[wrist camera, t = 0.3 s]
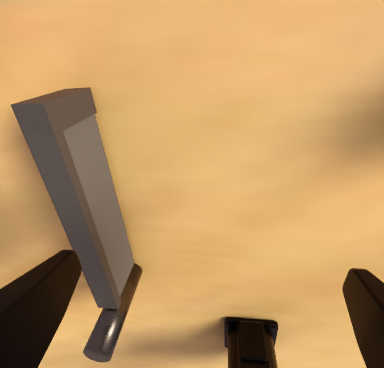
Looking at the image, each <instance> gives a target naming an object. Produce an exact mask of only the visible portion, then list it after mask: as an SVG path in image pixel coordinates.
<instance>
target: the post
mask: <svg viewBox="0 0 384 368" xmlns="http://www.w3.org/2000/svg"><path fill="white" fill-rule="evenodd" d="M141 274H142V269H141V267H140V266H138V265H137V264H135V263H134V265H133V267H132V270H131V272H130V274H129V277H128V279H127V282H126V284H125V287H124V289H123V291H122V294H121V296H120V298H121V304H120V306H119V309H111V308H103V309H102V312H101V314H100V316H99V318H98V320H97V322H96V325H95V327H94V329H93V331H92V333H91V335H90V338H89V340H88V342H87V344H86V346H85V348H84V351H83V353H84V355H85V356H86V357H88V358H89V359H91V360H94V361H97V362H108V361H110V359H111V357H112V354H113V351H114V348H115V346H116V343H117V340H118V337H119V335H120V332H121V329H122V326H123V324H124V321H125V318H126V315H127V313H128V310H129V307H130V304H131V302H132V299H133V296H134V293H135V291H136V288H137V285H138V282H139V280H140V277H141Z"/></svg>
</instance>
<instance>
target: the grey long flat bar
mask: <svg viewBox="0 0 384 368" xmlns="http://www.w3.org/2000/svg"><path fill="white" fill-rule="evenodd" d="M11 107H12V109H13V111H14V114H15V116H16V118H17V121H18V123H19V125H20V128H21V130H22V132H23V135H24V137H25V139H26V142H27V144H28V146H29V148H30V151H31V153H32V155H33V158H34V160H35V162H36V165H37V167H38V169H39V172H40V174H41V176H42V179H43V181H44V183H45V186H46V188H47V190H48V192H49V195H50V197H51V199H52V202H53V204H54V206H55V209H56V211H57V213H58V216H59V218H60V220H61V223H62V225H63V227H64V230H65V232H66V234H67V237H68V239H69V241H70V243H71V246H72V248H73V250H74V251H75V252H76V253H77V255H78V258H79V260H80V263H81V266H82V271H83V274H84V276H85V278H86V281H87V283H88V285H89V287H90V290H91V292H92V294H93V297H94V299H95V301H96V304H97V306H98V308H111V309H119V306H120V304H121V298H120V296H121V294H122V291H123V289H124V287H125V284H126V282H127V279H128V277H129V274H130V272H131V270H132V267H133V265H134V259H133V256H132V252H131V248H130V244H129V241H128V237H127V233H126V229H125V226H124V222H123V218H122V214H121V211H120V207H119V203H118V199H117V196H116V192H115V188H114V184H113V181H112V177H111V173H110V169H109V166H108V162H107V158H106V154H105V151H104V147H103V143H102V139H101V136H100V132H99V128H98V125H97V121H96V117H95V113H97V112H96V108H95V104H94V100H93V96H92V92H91V89H90V88H74V89H63V90H60V91H57V92H53V93H50V94H46V95H43V96H39V97H36V98H33V99H29V100H26V101H22V102H19V103H15V104H12V105H11Z"/></svg>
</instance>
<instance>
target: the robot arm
mask: <svg viewBox="0 0 384 368" xmlns="http://www.w3.org/2000/svg"><path fill="white" fill-rule="evenodd" d="M81 271H82V266H81V263H80V260H79V258H78V255H77V253H76V252H75V251H74V250H62V251H60V252H58V253H57V254H55V255H54V256H52V257H51V258H49V259H47V260H46V261H44V262H43V263H41V264H39V265H38V266H36V267H35V268H33V269H31V270H30V271H28V272H27V273H25V274H24V275H22V276H20V277H19V278H17V279H16V280H14V281H12V282H11V283H9V284H8V285H6V286H4V287H3V288H1V289H0V368H38V366H39V364H40V362H41V360H42V358H43V356H44V354H45V353H46V351H47V349H48V347H49V345H50V343H51V341H52V339H53V337H54V335H55V333H56V331H57V329H58V327H59V325H60V323H61V321H62V319H63V317H64V315H65V312H66V310H67V307H68V305H69V302H70V300H71V297H72V295H73V292H74V290H75V287H76V285H77V282H78V280H79V277H80V275H81ZM343 295H344V298H345V302H346V305H347V309H348V312H349V316H350V319H351V323H352V326H353V329H354V333H355V336H356V340H357V343H358V346H359V349H360V351H361V354H362V357H363V359H364V362H365V364H366V367H367V368H384V283H383V282H382V281H381V280H380V279H378V278H377V277H376V276H374V275H373V274H372V273H371V272H369V271H368V270H366V269H357V268H352V269H350V270H349V272H348V274H347V277H346V279H345V282H344V284H343ZM277 331H278V323H277V322H276V321H265V320H252V319H239V318H225V347H226V348H228V368H278V367H277V361H276V355H275V348H274V346H275V341H276V336H277Z"/></svg>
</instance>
